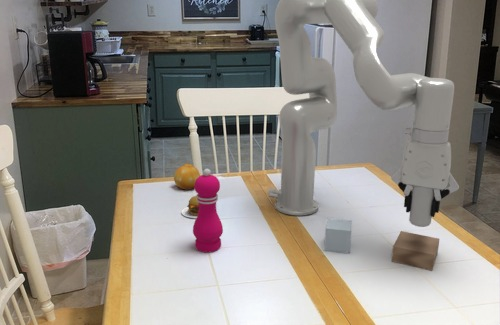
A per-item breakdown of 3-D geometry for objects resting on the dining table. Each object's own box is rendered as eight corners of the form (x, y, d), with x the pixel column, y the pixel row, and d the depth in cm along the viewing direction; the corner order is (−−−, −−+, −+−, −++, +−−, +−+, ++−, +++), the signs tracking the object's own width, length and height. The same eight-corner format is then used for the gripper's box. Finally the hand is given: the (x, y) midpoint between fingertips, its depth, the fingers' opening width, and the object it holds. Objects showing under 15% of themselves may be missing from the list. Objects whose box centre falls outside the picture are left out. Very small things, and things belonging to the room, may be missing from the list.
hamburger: (167, 214, 144) (166, 196, 143) (200, 203, 152) (199, 186, 151) (194, 227, 136) (193, 208, 135) (227, 215, 144) (227, 197, 143)
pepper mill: (227, 242, 127) (227, 166, 121) (216, 255, 120) (215, 175, 114) (200, 237, 129) (199, 162, 123) (188, 250, 123) (186, 171, 116)
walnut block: (391, 261, 119) (393, 245, 117) (399, 245, 126) (400, 230, 125) (432, 270, 115) (434, 254, 113) (437, 253, 122) (439, 238, 121)
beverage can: (432, 228, 115) (438, 178, 111) (409, 226, 116) (415, 176, 112) (429, 220, 119) (435, 171, 116) (407, 218, 120) (413, 170, 117)
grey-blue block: (324, 251, 123) (325, 228, 122) (325, 240, 129) (327, 218, 127) (349, 253, 122) (351, 230, 120) (350, 242, 128) (351, 220, 126)
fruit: (193, 173, 169) (184, 156, 164) (209, 181, 164) (199, 164, 159) (176, 190, 166) (165, 173, 161) (190, 199, 161) (180, 182, 156)
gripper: (386, 134, 112) (379, 211, 117) (470, 144, 105) (458, 226, 110) (394, 127, 118) (387, 200, 124) (473, 136, 111) (462, 213, 116)
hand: (420, 211), depth 117 cm, fingers closed on beverage can, 4 cm apart
